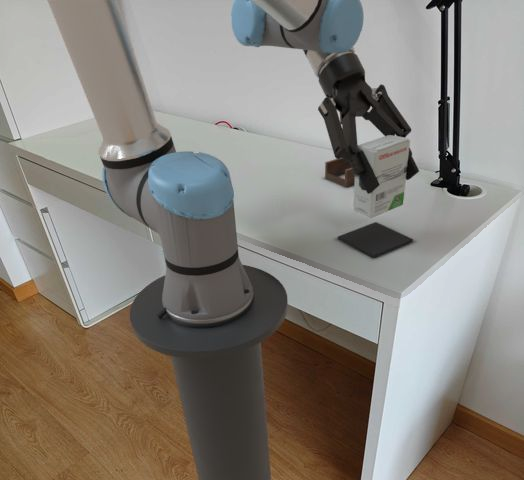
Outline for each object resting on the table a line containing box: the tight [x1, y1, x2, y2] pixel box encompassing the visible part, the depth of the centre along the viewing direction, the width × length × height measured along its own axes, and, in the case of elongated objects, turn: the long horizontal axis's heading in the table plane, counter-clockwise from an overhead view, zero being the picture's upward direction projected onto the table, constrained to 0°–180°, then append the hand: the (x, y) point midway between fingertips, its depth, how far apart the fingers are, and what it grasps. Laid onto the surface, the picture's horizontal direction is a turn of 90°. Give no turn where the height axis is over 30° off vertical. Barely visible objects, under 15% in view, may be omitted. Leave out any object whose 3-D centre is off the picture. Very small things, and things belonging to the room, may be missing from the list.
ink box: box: [352, 135, 411, 219], centre depth 88 cm, size 9×5×12 cm, turn 126°
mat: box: [337, 221, 414, 259], centre depth 95 cm, size 10×10×1 cm
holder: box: [324, 158, 355, 188], centre depth 121 cm, size 12×8×4 cm, turn 124°
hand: (393, 182), depth 86 cm, fingers closed on ink box, 9 cm apart
